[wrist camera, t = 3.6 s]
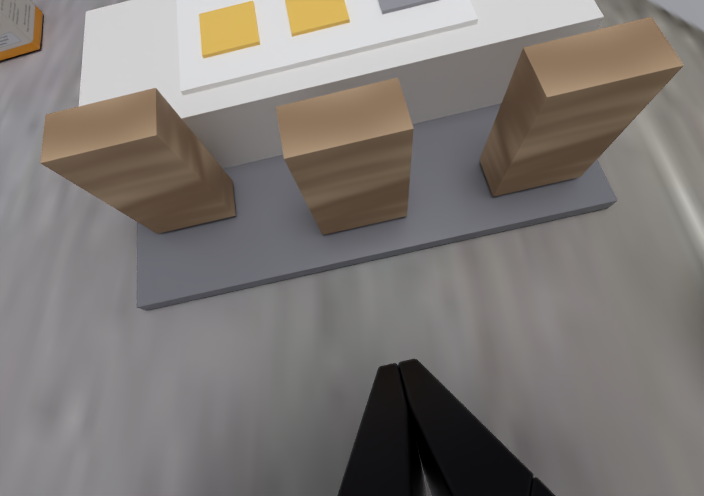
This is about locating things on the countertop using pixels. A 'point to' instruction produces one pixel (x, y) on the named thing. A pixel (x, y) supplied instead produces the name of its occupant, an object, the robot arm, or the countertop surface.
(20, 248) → the countertop surface
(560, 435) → the countertop surface
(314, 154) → the key middle
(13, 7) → the supplement box
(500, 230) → the key console
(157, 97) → the key
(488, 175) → the key
